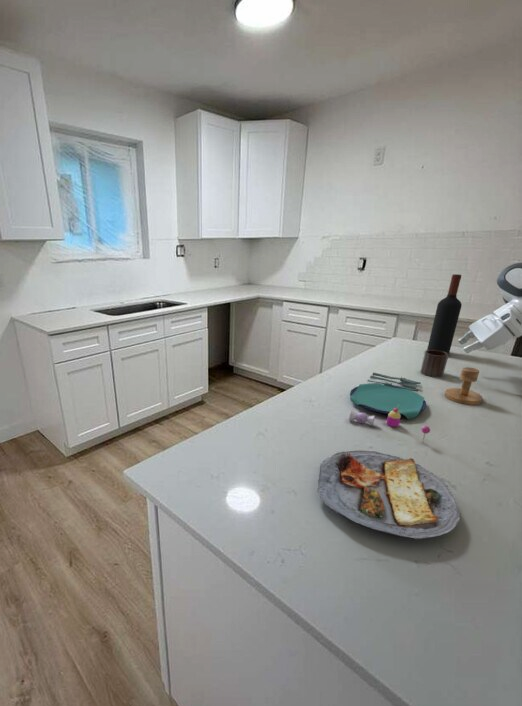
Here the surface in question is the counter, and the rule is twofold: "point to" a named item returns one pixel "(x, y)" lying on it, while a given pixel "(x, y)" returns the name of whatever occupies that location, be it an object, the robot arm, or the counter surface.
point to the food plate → (387, 494)
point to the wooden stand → (465, 388)
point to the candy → (391, 420)
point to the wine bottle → (446, 319)
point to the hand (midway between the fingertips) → (462, 346)
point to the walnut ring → (434, 363)
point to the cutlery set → (389, 396)
